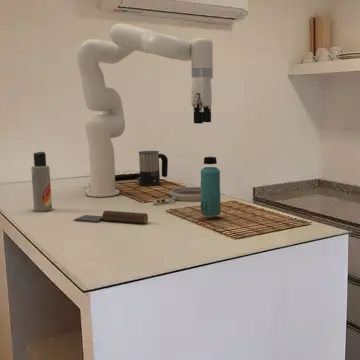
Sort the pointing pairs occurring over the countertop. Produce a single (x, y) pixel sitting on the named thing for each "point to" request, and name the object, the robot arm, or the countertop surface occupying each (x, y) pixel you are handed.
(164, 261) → the countertop surface
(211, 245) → the countertop surface
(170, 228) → the countertop surface
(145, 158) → the milk frother
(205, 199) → the beverage bottle
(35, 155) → the lotion bottle
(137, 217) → the spatula
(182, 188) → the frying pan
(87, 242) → the countertop surface
